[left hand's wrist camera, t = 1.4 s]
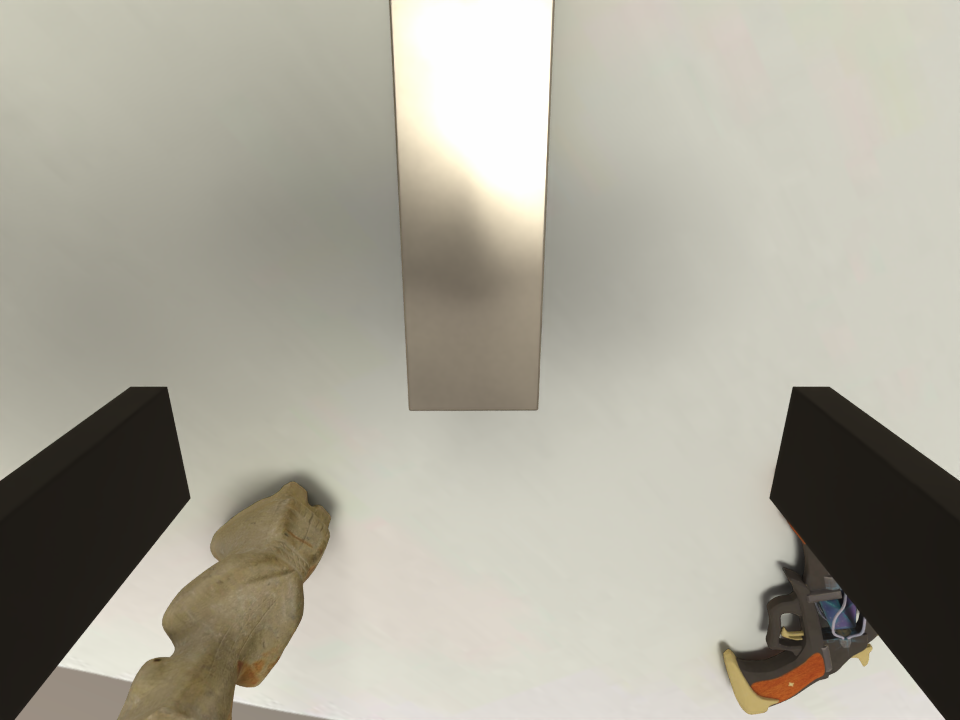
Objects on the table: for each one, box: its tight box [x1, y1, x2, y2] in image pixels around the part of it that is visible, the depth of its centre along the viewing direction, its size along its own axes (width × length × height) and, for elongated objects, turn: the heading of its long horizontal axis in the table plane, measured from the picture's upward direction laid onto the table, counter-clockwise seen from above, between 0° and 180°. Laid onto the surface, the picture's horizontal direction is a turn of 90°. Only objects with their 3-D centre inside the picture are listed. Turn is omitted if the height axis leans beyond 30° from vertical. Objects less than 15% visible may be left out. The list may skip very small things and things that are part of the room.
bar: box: [389, 0, 555, 411], centre depth 24 cm, size 24×5×9 cm, turn 0°
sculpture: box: [117, 482, 331, 720], centre depth 29 cm, size 6×7×15 cm
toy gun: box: [723, 521, 878, 715], centre depth 37 cm, size 3×19×10 cm
